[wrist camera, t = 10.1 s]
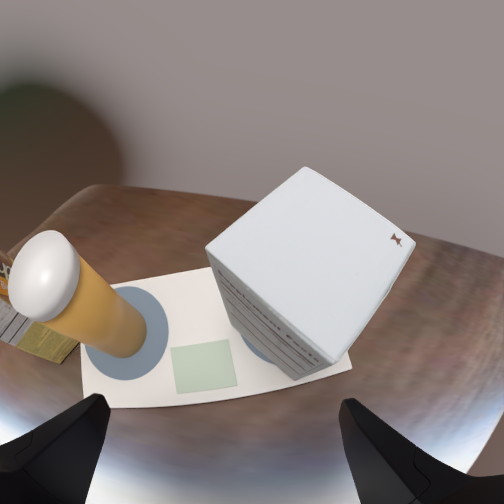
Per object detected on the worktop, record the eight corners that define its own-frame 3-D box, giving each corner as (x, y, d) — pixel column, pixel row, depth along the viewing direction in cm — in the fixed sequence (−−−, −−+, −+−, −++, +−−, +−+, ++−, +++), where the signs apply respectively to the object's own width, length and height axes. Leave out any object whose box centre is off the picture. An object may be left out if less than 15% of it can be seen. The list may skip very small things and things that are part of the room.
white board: (352, 368, 21) (358, 366, 20) (91, 407, 19) (83, 406, 18) (315, 253, 27) (318, 245, 26) (87, 294, 25) (81, 289, 24)
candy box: (30, 310, 24) (-58, 244, 10) (49, 287, 25) (-35, 209, 12) (60, 366, 21) (-55, 314, 8) (83, 340, 22) (-31, 270, 9)
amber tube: (150, 356, 21) (63, 310, 10) (100, 360, 20) (2, 317, 10) (146, 301, 23) (75, 221, 13) (98, 308, 23) (17, 240, 12)
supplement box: (286, 268, 25) (307, 160, 14) (349, 320, 22) (422, 242, 11) (227, 324, 22) (198, 243, 11) (293, 385, 20) (339, 368, 9)
